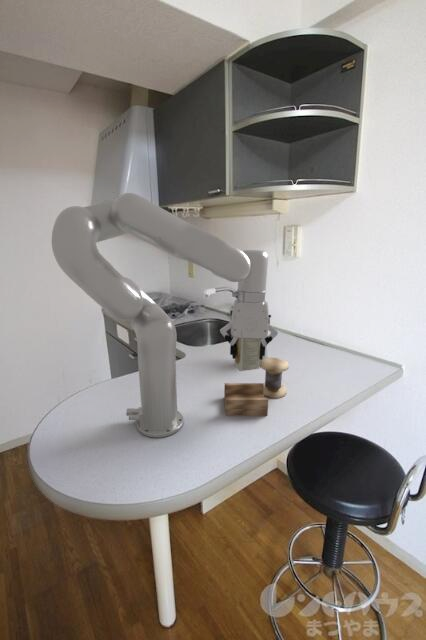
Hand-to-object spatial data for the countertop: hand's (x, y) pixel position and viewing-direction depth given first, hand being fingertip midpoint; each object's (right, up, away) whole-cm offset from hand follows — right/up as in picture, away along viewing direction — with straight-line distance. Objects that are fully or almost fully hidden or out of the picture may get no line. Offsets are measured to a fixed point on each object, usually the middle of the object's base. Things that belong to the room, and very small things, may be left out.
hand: (247, 357), depth 91 cm
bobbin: (+10, -13, +13) cm, 21 cm away
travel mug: (+9, -7, +35) cm, 36 cm away
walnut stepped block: (0, -15, +5) cm, 16 cm away
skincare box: (0, -3, +1) cm, 3 cm away
